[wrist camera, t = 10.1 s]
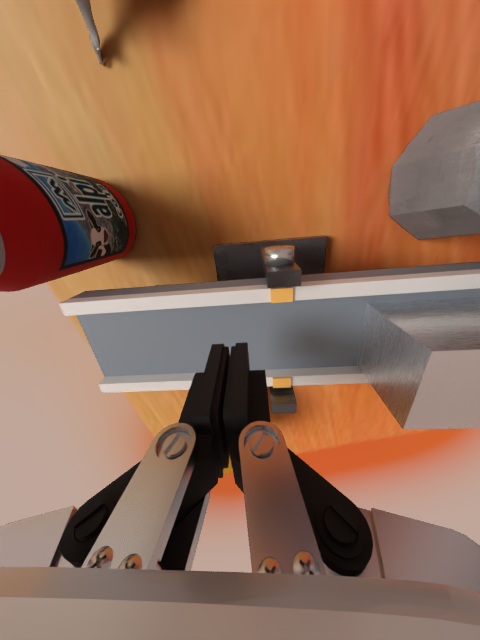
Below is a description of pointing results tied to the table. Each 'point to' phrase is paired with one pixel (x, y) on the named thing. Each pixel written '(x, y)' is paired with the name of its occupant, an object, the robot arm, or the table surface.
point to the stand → (273, 277)
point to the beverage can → (57, 223)
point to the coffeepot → (440, 177)
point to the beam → (250, 324)
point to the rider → (425, 361)
